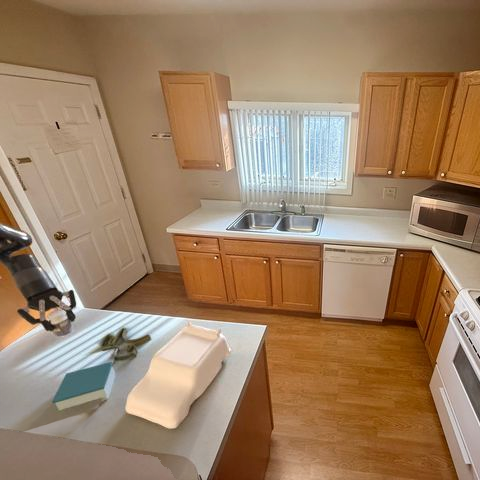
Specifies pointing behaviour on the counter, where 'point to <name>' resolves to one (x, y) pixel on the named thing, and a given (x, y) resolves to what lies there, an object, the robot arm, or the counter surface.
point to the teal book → (85, 386)
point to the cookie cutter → (129, 348)
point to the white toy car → (178, 375)
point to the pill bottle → (60, 323)
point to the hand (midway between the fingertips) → (62, 325)
